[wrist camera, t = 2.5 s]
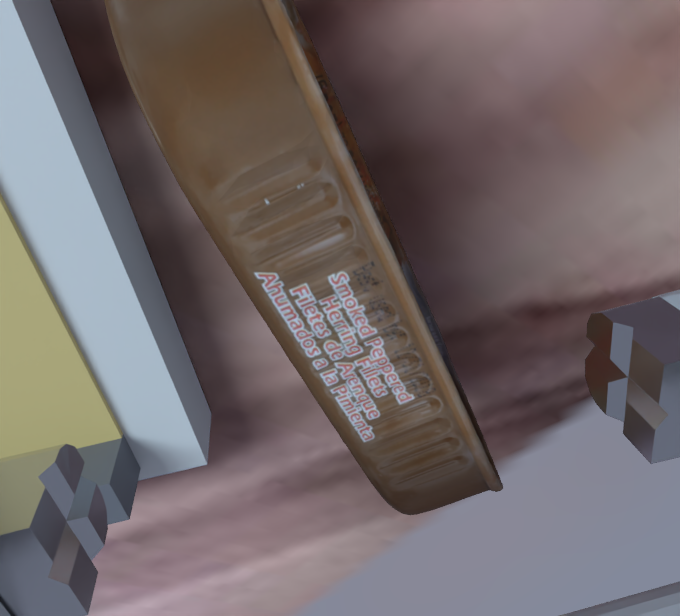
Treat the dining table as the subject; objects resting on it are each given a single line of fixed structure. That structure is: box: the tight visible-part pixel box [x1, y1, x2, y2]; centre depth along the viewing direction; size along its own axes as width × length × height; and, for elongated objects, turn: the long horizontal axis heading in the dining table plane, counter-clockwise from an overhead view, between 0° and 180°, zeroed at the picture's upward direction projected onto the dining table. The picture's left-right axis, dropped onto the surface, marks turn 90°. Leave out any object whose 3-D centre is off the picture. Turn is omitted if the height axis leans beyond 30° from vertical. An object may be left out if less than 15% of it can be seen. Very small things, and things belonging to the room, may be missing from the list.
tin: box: [104, 0, 503, 515], centre depth 13 cm, size 15×3×8 cm, turn 25°
